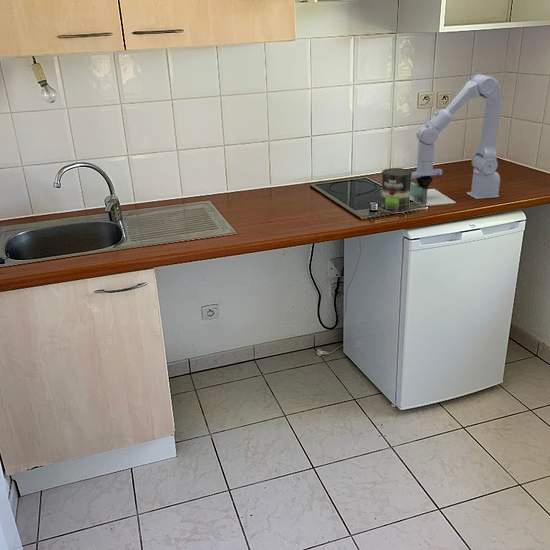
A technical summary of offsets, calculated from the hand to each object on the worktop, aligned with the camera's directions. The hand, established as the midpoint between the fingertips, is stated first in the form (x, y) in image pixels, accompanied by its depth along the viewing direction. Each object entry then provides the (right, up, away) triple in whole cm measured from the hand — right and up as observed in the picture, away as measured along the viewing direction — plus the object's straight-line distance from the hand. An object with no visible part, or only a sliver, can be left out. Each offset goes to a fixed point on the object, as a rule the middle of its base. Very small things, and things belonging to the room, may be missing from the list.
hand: (422, 195), depth 220 cm
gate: (-2, -1, +1) cm, 3 cm away
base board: (+2, -1, +2) cm, 3 cm away
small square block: (-2, -3, -4) cm, 6 cm away
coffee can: (-13, -7, -10) cm, 17 cm away
